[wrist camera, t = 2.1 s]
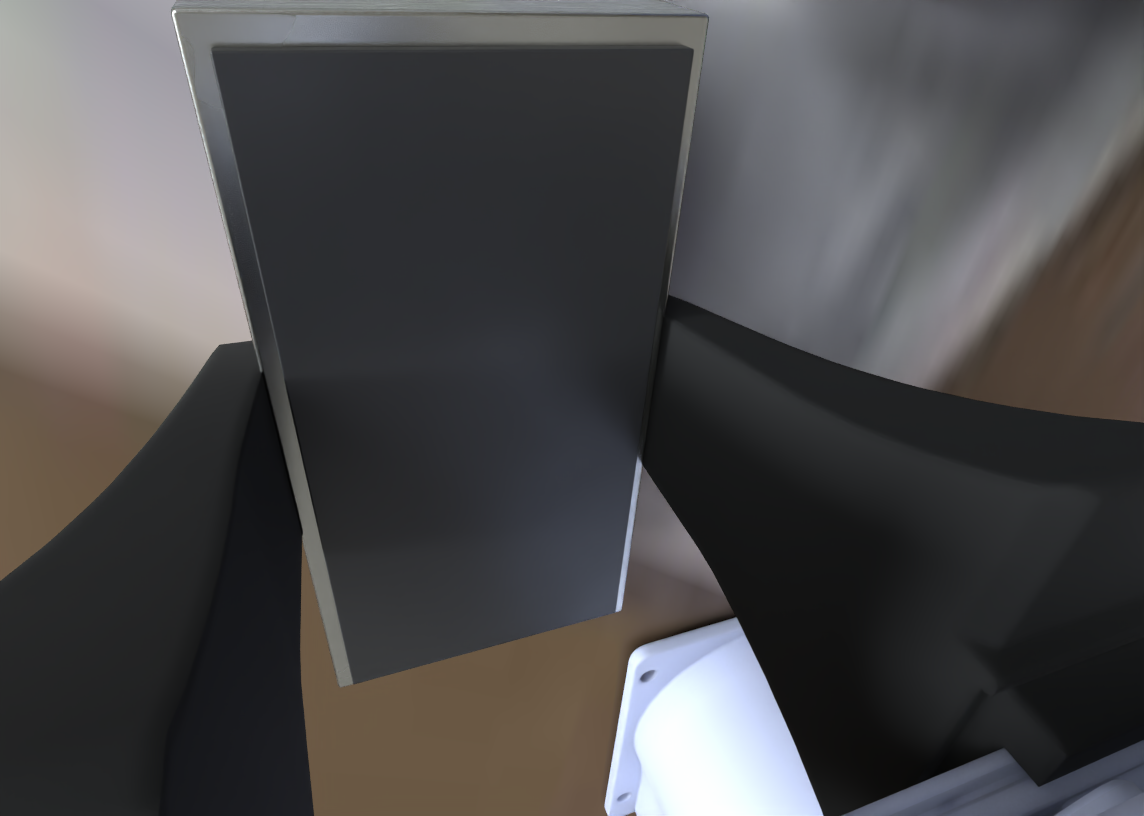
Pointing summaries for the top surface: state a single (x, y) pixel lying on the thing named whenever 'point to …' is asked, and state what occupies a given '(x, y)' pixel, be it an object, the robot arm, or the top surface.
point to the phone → (452, 292)
